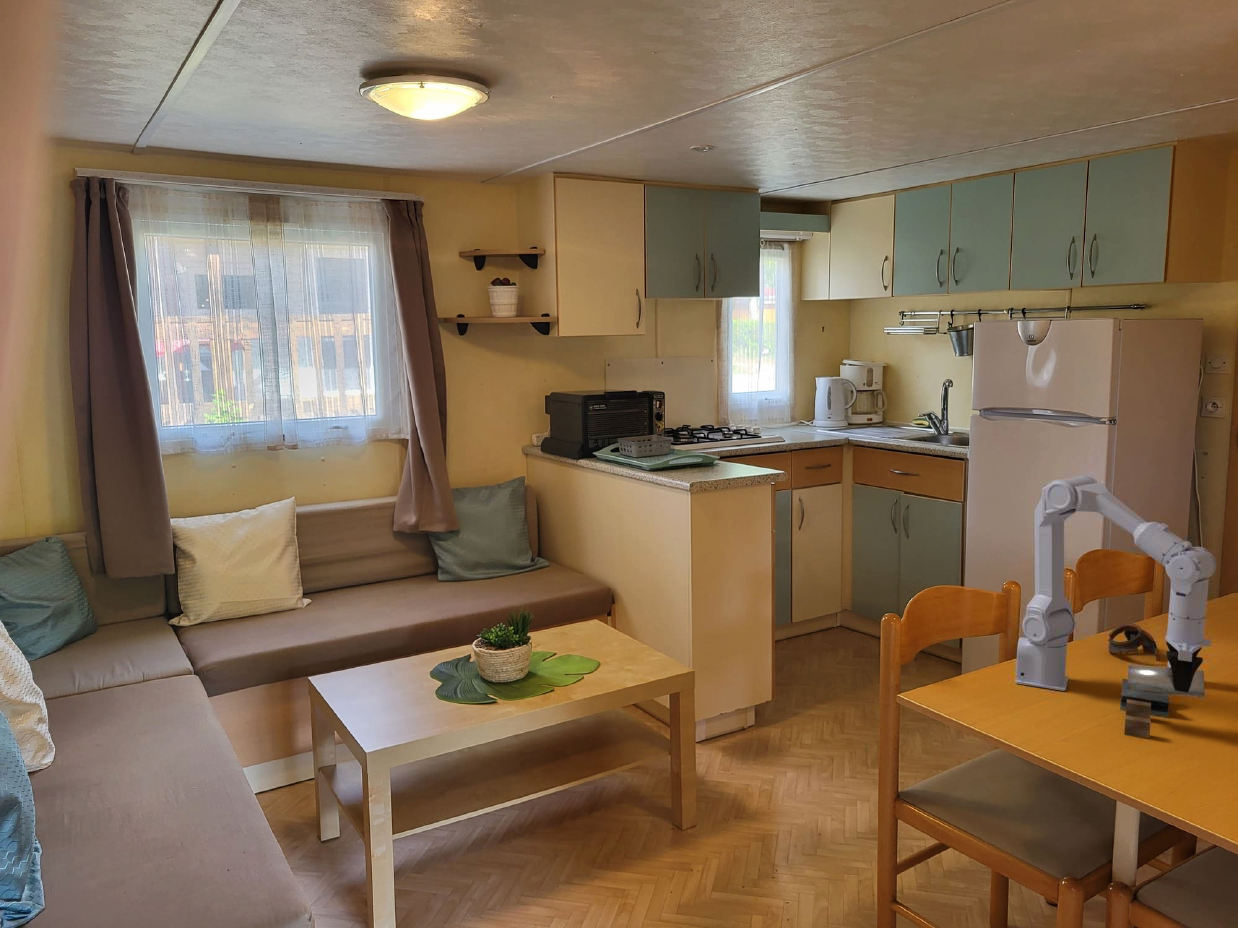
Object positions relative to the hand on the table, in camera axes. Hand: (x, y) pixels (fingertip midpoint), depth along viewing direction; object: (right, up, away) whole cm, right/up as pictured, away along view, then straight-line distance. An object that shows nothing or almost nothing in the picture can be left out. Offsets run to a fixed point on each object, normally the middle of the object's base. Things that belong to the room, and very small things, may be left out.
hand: (1181, 685), depth 170 cm
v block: (-1, -7, +11) cm, 13 cm away
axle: (-2, -2, +1) cm, 3 cm away
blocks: (-7, -8, +3) cm, 11 cm away
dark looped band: (+12, -2, +38) cm, 40 cm away
